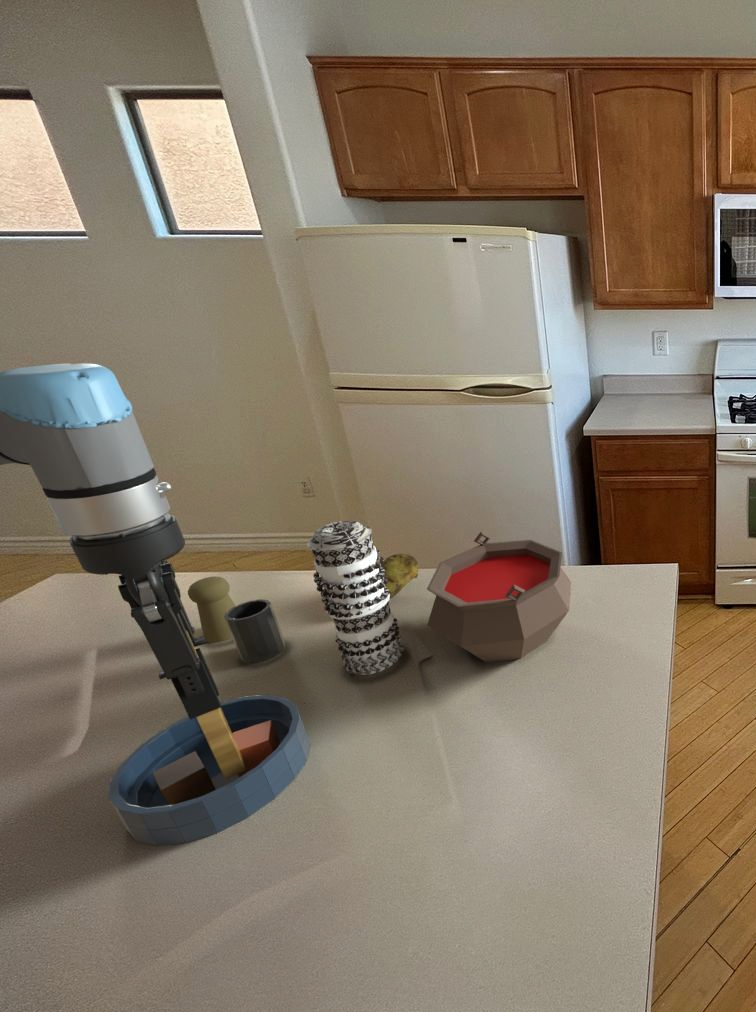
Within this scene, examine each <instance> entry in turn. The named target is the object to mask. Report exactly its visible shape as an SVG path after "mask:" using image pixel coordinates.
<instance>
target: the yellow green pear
mask: <svg viewBox="0 0 756 1012" xmlns="http://www.w3.org/2000/svg"><path fill="white" fill-rule="evenodd" d="M383 561H384V563H383V564H382V565H381V568H384V569H385V571H386V574H385V575H384V577H387V578H388V580H387V581H388V583H387V584H386V585H385V587H387V588H389V591H390V600H391V599H392V598H394V597H395V596H396V595H398V594H399V593H400V592H401V591H402V590H403V589H404V588H405V587H406V586H407V585H408V584H409V583H410V582H411V581H412V580H413V579H416V578H418V576H419V574H418V572H419V562H418V560H417V558H416V557H414V556H413V555H411V554H409V553H395V554H392V555H390V556H388V557H386V558H384V560H383ZM382 582H383V581H382Z"/></svg>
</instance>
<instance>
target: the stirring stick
mask: <svg viewBox="0 0 756 1012" xmlns="http://www.w3.org/2000/svg"><path fill="white" fill-rule="evenodd" d="M186 632H187V630H186ZM187 634H188V632H187ZM188 637H189V639H190V641H191V638H190V636H189V634H188ZM191 644H192V646H193V648H194V651H195V653H196V655H197V658H199V657H198V654H197V652H196V650H195V649H196V647H194V645H193V643H192V641H191ZM196 718H197V721H198V723H199V725H200V727H201V729H202V731H203V733H204V736H205V738H206V740H207V742H208V744H209V746H210V749H211V751H212V753H213V755H214V757H215V759H216V761H217V764H218V766H219V768H220V770H221V772H222V774H223V776H224V779H228V778H230V777H232V776H234V775H236V774H239V773H241V772H243V771H245V770H246V768H245V763H244V759H243V757H242V755H241V752H240V750H239V748H238V746H237V743H236V741H235V739H234V737H233V734H232V732H231V730H230V727H229V725H228V723H227V721H226V718H225V716H224V714H223V711H222V709H221V708H218V709H216V710H213V711H211V712H208V713H205V714H203V715H200V716H198V717H196Z"/></svg>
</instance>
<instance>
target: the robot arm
mask: <svg viewBox="0 0 756 1012" xmlns="http://www.w3.org/2000/svg"><path fill="white" fill-rule="evenodd" d="M8 464H17V465H24V466H25V465H26V466H30V467H31V469H32V471H33V473H34V475H35V477H36V479H37V480H38V483H39V484H40V486H41V488H42V491H43V493H44V497H45V499H46V501H47V503H48V505H49V506H50V507H49V508H50V509H51V511H52V513H53V515H54V518H55V519H56V521H57V523H58V525H59V527H60V530H61V531H62V532H63V533H64V534H65V535H69V536H71V537H70V539H69V541H68V543H69V545H70V546H71V548H72V550H73V553H74V555H75V557H76V558H77V560H78V563H79V565H80V567H81V569H83V570H84V571H85V572H87V573H89V574H93V575H100V576H103V575H104V576H108V575H118V579H119V582H120V584H118V585H117V588H118V591H119V593H120V596H121V598H122V600H123V601H124V602H127V603H128V605H129V607H130V616H131V618H133V619H134V621H135V622H136V624H137V625H138V626H139V628H140V629H141V631H142V634H143V636H144V637H145V639H146V641H147V643H148V645H149V647H150V648H151V651H152V652H153V654H154V656H155V659H156V660H157V662H158V664H159V666H160V668H161V670H160V671H158V679H159V680H163V679H166V680H167V681H168V680H171V682H172V684H173V687H174V689H175V692H176V693H177V696H178V697H179V699H180V701H181V703H182V706H183V708H184V710H185V712H186V714H187V716H189V718H190V719H193V718H195V717H198V716H200V715H203V714H205V713H208V712H211V711H213V710H216V709H218V708H221V703H220V702H221V701H220V699H219V696H220V691H219V689H218V686H217V683H216V682H215V680H214V678H213V675H212V673H211V670H210V668H209V666H208V664H207V662H206V659H205V656H204V654H203V653H202V650H201V648H200V647H199V646H203V645H205V644H207V642H206V641H205V638H204V636H203V635H201V636H198V637H195V633H196V629H195V627H194V626H192V622H191V621H190V619H189V616H188V614H187V611H186V609H185V606H184V603H183V602H182V599H181V597H182V595H181V589H180V588H179V585H178V583H177V580H176V573H175V568H174V566H173V564H172V562H168V560H169V559H171V558H173V557H174V556H176V555H178V554H179V553H180V552H181V551H183V549H184V547H185V545H186V540H185V538H184V536H183V533H182V530H181V528H180V525H179V523H178V521H177V519H176V516H175V515H173V514H171V513H169V511H170V510H171V506H170V503H169V501H168V498H167V495H166V494H165V493H168V492H170V491H172V485H171V484H170V483H169V482H165V481H163V482H160V483H158V482H159V477H158V475H157V471H156V469H155V464H154V462H153V460H152V458H151V455H150V453H149V450H148V447H147V444H146V443H145V439H144V437H143V435H142V432H141V430H140V426H139V424H138V422H137V419H136V416H135V414H134V411H133V405H132V403H131V401H130V400H129V399H128V398H127V396H125V394H124V391H123V389H122V387H121V385H120V383H119V381H118V379H117V376H116V375H115V373H114V372H113V371H111V369H109V368H108V367H105V366H104V365H100V364H96V363H86V362H85V363H84V362H83V363H53V364H43V365H32V366H25V367H18V368H17V367H16V368H11V369H7V370H3V371H0V466H4V465H8ZM186 630H187V632H188V634H189V636H190V638H191V641H192V643H193V645H194V648H195V650H196V652H197V654H198V657H199V658H197V655H196V653H195V651H194V648H193V646H192V644H191V641H190V639H189V637H188V634H187V632H186ZM196 647H198V648H196Z"/></svg>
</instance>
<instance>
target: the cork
mask: <svg viewBox="0 0 756 1012" xmlns="http://www.w3.org/2000/svg"><path fill="white" fill-rule="evenodd" d="M230 590H231V589H230V584H229V582H228V580H227V579H226V578H224V577H223V576H208V577H204V578H201V579H199V580H196V581H194V582H193V583H191V584H190V585H189V587H188V590H187V595H188V597H189V600H191V602H193V603H195V604H196V607H197V611H198V617H199V622H200V627H201V630H202V636H204V638H205V641H206V643H211V644H212V643H213V644H214V643H215V644H216V643H222V642H226V641H229V640H231V639H233V638H232V636H231V633H230V631H229V628H228V626H227V623H226V621H225V618H224V616H225V613H226V612H227V611H229V610H230V609H231V608H233V607H235V606H236V604H235V603H234V600H233V599H232V598H231V596H230V595H229V593H230Z"/></svg>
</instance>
